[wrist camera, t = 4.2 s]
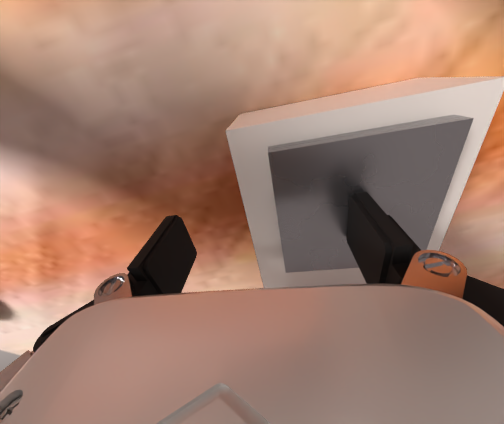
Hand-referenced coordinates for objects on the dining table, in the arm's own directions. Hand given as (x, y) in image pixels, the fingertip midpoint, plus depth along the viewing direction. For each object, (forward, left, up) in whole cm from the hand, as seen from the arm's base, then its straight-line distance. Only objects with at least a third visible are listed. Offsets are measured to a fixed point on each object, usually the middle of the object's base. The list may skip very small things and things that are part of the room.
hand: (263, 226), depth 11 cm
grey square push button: (0, +5, -7) cm, 8 cm away
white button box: (+6, +5, -7) cm, 11 cm away
